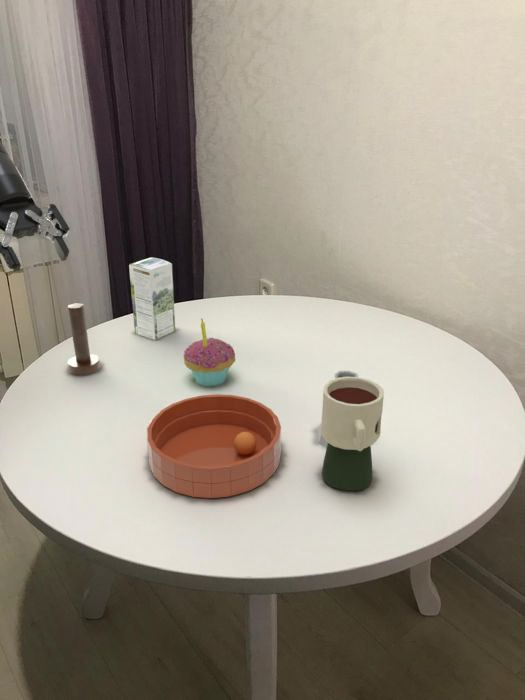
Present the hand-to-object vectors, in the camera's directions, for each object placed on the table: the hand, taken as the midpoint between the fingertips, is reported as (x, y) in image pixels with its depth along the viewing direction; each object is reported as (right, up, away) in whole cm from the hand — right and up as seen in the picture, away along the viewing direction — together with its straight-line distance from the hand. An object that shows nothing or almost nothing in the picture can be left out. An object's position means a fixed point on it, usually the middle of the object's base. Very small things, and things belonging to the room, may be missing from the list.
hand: (42, 263), depth 101 cm
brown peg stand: (+7, -18, +1) cm, 20 cm away
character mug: (+48, -31, -26) cm, 63 cm away
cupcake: (+29, -20, -3) cm, 35 cm away
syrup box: (+17, -12, +15) cm, 25 cm away
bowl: (+31, -29, -22) cm, 48 cm away
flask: (+49, -27, -18) cm, 59 cm away
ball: (+35, -27, -23) cm, 50 cm away
